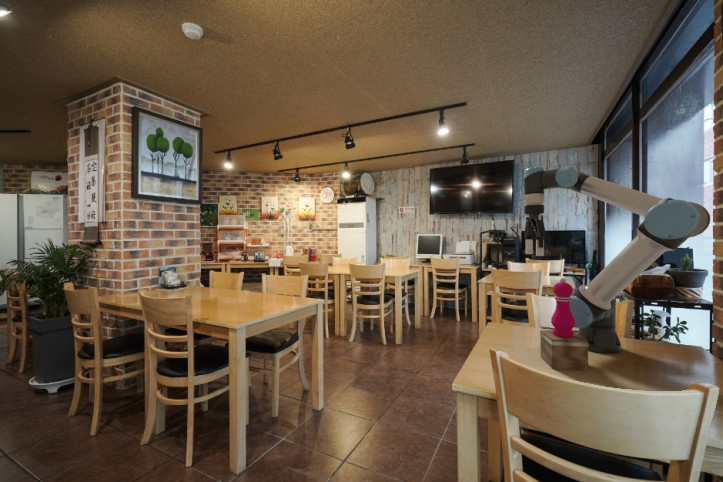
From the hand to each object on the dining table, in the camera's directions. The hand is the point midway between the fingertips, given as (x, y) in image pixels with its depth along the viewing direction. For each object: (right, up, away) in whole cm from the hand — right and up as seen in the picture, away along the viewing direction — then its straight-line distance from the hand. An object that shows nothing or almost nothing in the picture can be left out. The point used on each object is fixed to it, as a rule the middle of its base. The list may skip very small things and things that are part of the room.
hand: (534, 255), depth 140 cm
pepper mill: (-3, -27, -24) cm, 36 cm away
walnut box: (-2, -37, -24) cm, 44 cm away
